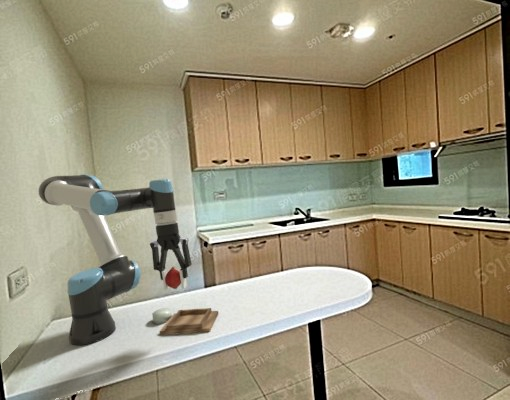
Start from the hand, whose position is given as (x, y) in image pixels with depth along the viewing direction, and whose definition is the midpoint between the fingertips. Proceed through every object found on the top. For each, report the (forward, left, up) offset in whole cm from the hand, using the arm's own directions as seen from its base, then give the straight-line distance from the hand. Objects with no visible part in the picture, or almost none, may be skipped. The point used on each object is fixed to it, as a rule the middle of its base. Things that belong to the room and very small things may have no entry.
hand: (175, 287), depth 108 cm
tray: (+2, +5, -15) cm, 16 cm away
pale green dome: (-11, +10, -15) cm, 21 cm away
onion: (0, 0, -1) cm, 1 cm away
